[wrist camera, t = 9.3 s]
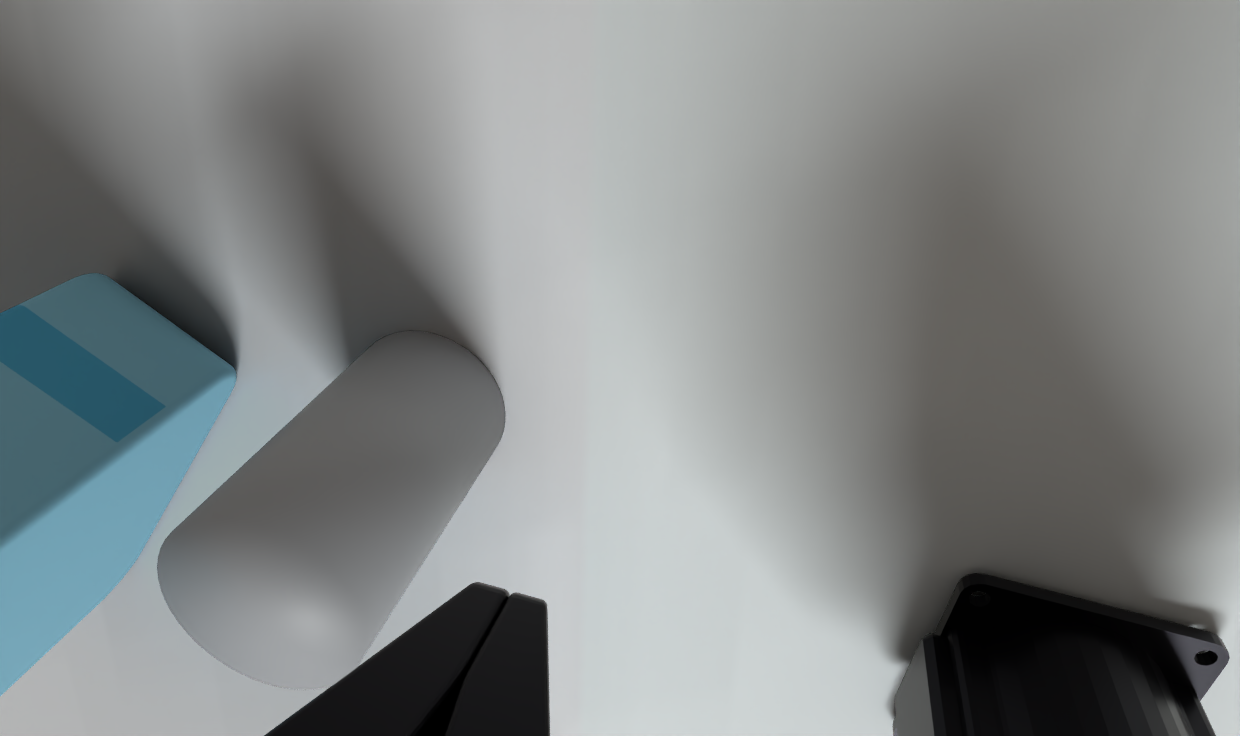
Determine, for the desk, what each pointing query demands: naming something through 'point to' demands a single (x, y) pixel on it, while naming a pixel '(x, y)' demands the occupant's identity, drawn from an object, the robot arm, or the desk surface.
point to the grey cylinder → (334, 514)
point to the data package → (89, 450)
